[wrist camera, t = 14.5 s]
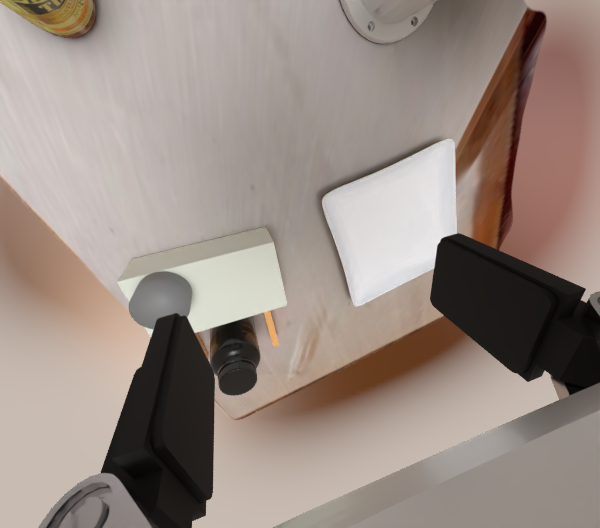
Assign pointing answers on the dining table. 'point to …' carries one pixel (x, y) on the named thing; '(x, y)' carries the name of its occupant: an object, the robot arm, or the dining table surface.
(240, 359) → the supplement bottle
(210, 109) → the dining table surface
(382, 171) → the salad plate
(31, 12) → the sauce bottle
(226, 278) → the block with grey puck
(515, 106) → the dining table surface
